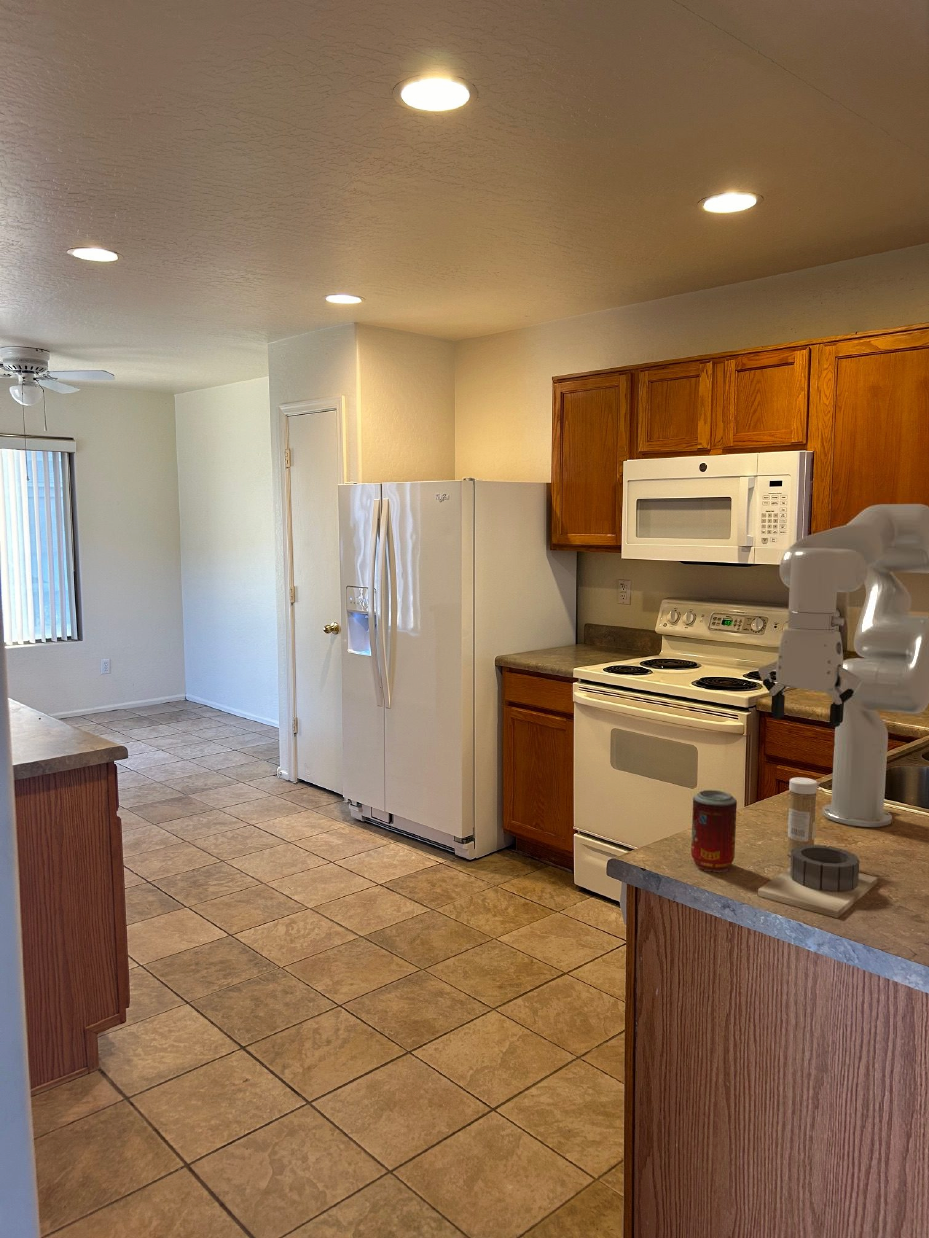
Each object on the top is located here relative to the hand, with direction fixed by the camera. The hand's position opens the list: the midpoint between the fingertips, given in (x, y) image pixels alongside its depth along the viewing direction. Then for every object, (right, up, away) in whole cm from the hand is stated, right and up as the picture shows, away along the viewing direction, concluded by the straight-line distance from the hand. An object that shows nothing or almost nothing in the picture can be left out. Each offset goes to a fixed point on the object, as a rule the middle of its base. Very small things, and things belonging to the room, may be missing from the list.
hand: (805, 722), depth 155 cm
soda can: (-17, -24, -3) cm, 29 cm away
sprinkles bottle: (0, -24, +3) cm, 24 cm away
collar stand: (-3, -25, -12) cm, 28 cm away
